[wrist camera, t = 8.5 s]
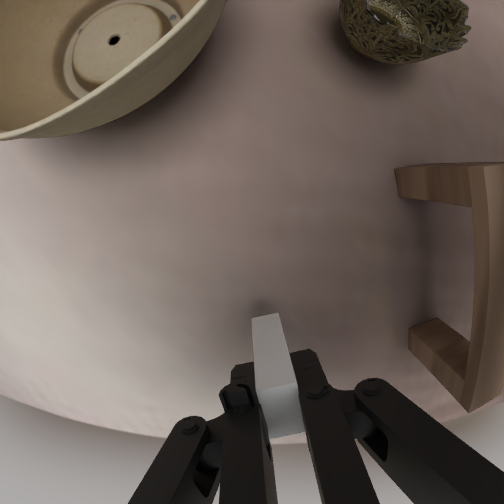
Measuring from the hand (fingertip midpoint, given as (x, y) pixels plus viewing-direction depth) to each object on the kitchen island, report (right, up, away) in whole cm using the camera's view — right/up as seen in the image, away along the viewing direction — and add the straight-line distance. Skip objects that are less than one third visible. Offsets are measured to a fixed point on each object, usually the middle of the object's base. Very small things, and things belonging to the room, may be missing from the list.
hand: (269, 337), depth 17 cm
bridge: (+12, +4, +4) cm, 13 cm away
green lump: (+7, +20, +1) cm, 21 cm away
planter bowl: (-10, +19, 0) cm, 21 cm away
